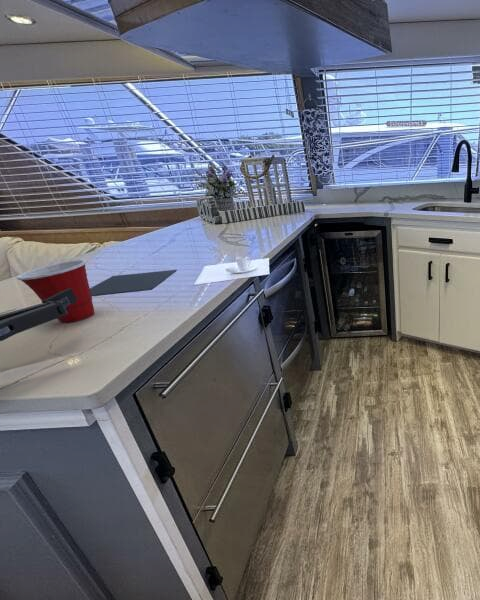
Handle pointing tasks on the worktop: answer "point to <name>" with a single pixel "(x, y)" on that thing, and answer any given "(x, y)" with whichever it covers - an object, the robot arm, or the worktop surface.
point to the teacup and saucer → (234, 270)
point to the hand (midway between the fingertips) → (31, 299)
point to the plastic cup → (63, 286)
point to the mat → (130, 282)
